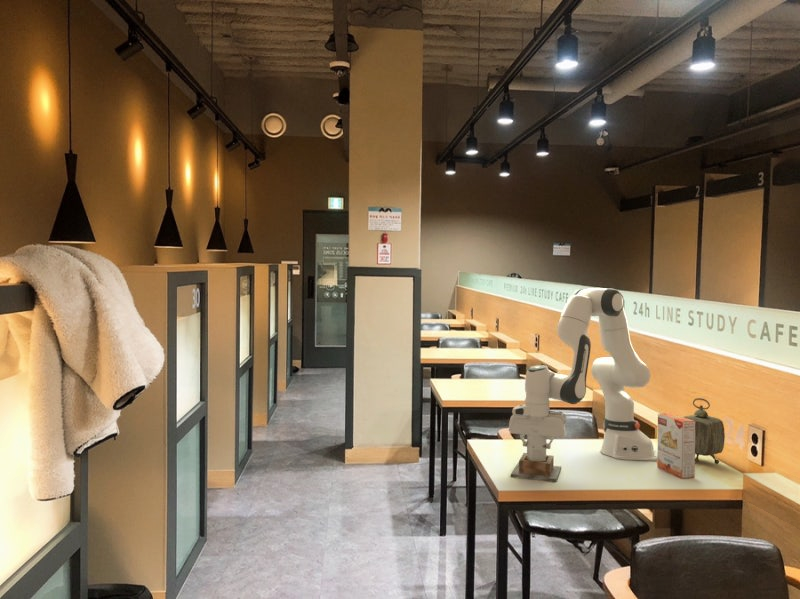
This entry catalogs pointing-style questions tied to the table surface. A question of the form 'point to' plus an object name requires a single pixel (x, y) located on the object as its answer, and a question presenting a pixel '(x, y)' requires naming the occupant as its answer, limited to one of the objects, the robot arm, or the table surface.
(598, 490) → the table surface
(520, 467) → the box holder
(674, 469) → the cracker box
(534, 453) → the skincare box
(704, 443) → the tabletop clock
